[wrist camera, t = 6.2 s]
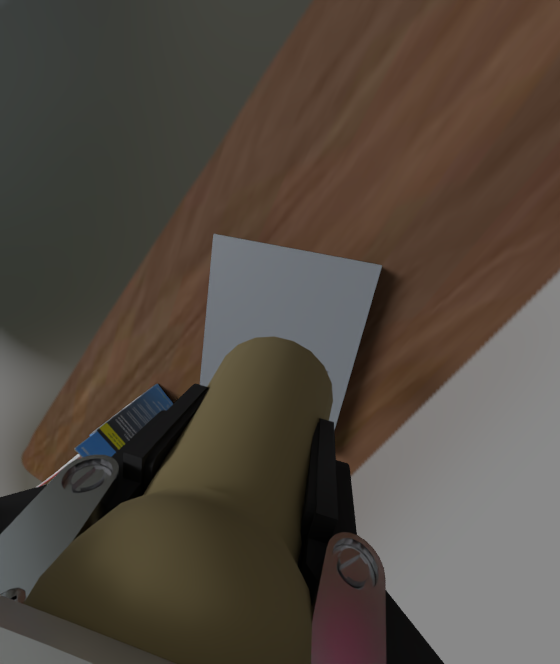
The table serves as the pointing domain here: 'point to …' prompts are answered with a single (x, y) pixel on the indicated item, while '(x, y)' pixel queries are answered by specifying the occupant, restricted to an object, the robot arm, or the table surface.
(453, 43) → the table surface
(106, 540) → the cork
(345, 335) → the socket board
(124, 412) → the blue and white box
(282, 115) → the table surface
